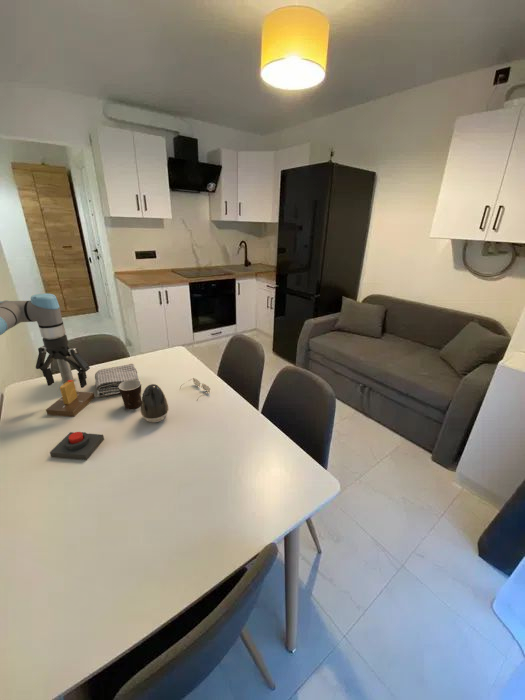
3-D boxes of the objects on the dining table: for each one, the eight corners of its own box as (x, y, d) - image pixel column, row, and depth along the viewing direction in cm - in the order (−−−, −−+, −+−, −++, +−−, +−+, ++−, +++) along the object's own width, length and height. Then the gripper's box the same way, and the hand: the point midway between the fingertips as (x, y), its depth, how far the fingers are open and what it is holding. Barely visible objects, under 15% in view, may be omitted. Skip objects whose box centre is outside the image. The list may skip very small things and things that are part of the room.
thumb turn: (68, 404, 117) (64, 386, 114) (64, 404, 117) (59, 386, 114) (77, 397, 122) (73, 380, 119) (73, 396, 122) (68, 379, 119)
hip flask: (74, 392, 130) (64, 351, 122) (64, 394, 128) (52, 353, 120) (73, 377, 142) (63, 339, 134) (63, 379, 140) (53, 340, 132)
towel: (96, 383, 137) (93, 368, 134) (137, 375, 146) (135, 361, 143) (98, 399, 125) (94, 383, 122) (142, 389, 134) (140, 374, 131)
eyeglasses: (211, 394, 133) (210, 387, 131) (197, 402, 128) (196, 395, 126) (193, 383, 141) (192, 376, 139) (179, 390, 136) (177, 383, 134)
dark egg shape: (136, 423, 112) (130, 389, 106) (152, 408, 121) (148, 376, 115) (159, 428, 110) (155, 394, 104) (174, 413, 119) (171, 381, 113)
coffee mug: (130, 398, 127) (127, 378, 123) (148, 401, 126) (145, 381, 122) (112, 413, 117) (108, 392, 113) (131, 417, 115) (128, 395, 111)
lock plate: (74, 416, 114) (72, 411, 113) (47, 414, 114) (45, 409, 113) (95, 397, 127) (94, 392, 126) (70, 395, 127) (69, 390, 126)
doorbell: (51, 457, 94) (48, 448, 93) (71, 436, 104) (69, 427, 102) (87, 460, 94) (84, 450, 92) (104, 439, 103) (102, 430, 101)
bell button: (66, 443, 96) (65, 439, 95) (74, 435, 99) (73, 431, 98) (78, 444, 95) (77, 440, 95) (86, 436, 99) (85, 432, 98)
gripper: (92, 334, 111) (102, 382, 119) (30, 330, 112) (44, 378, 120) (80, 341, 104) (92, 391, 113) (13, 337, 105) (30, 387, 114)
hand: (67, 385), depth 117 cm, fingers open, 13 cm apart
